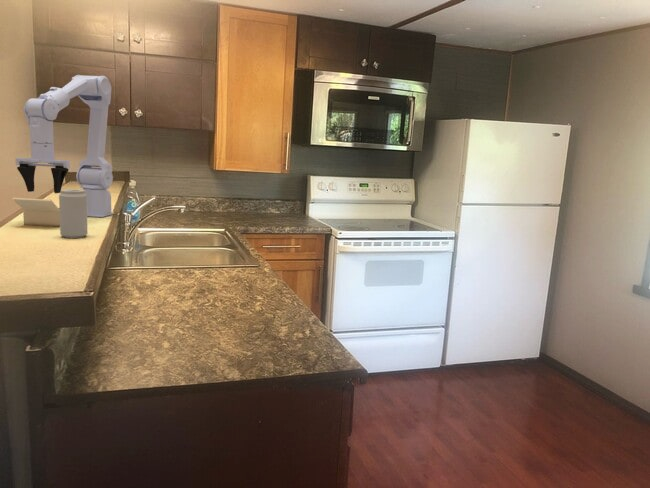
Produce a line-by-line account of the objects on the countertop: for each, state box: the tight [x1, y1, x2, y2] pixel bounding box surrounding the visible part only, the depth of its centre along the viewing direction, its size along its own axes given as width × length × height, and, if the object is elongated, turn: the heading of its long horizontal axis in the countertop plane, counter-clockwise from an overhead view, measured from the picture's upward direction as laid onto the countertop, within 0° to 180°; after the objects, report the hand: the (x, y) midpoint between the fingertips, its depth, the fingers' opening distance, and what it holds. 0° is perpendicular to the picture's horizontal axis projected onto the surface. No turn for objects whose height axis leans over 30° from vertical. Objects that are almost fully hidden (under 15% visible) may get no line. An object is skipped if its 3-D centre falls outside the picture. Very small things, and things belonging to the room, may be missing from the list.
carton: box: [22, 207, 60, 228], centre depth 156 cm, size 6×11×4 cm, turn 88°
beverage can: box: [58, 189, 89, 239], centre depth 140 cm, size 6×6×12 cm
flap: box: [12, 197, 60, 212], centre depth 150 cm, size 6×11×1 cm
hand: (44, 192), depth 153 cm, fingers open, 7 cm apart
